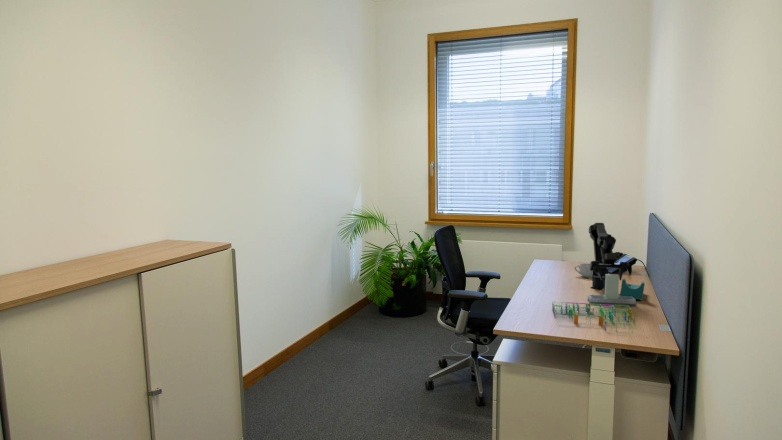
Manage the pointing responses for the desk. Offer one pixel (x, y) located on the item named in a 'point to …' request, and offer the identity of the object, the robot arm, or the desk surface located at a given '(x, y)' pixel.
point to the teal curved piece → (632, 290)
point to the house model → (600, 309)
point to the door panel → (611, 286)
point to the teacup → (584, 270)
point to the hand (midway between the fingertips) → (611, 279)
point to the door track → (612, 300)
